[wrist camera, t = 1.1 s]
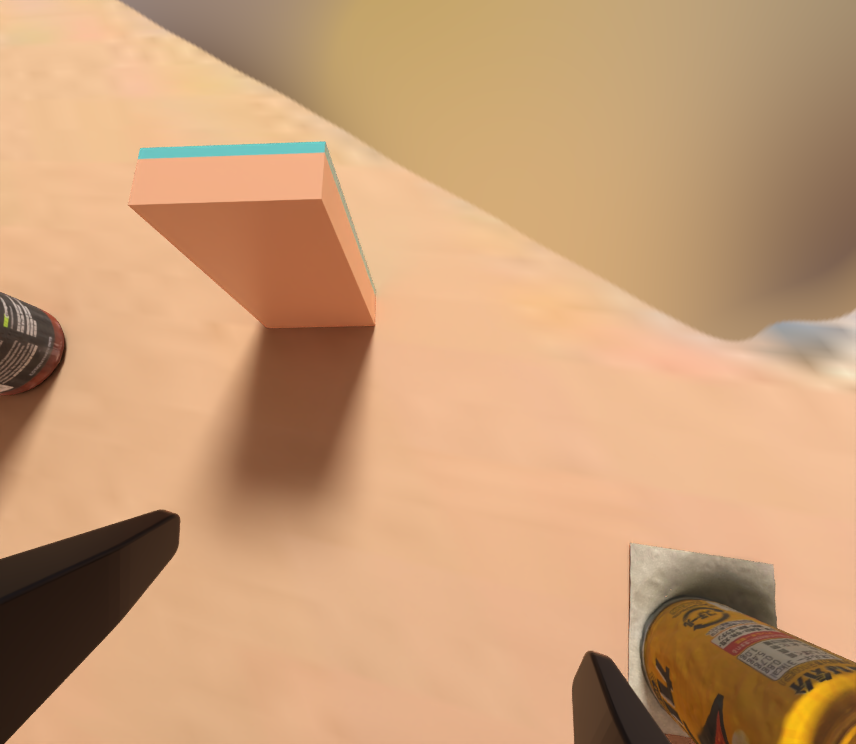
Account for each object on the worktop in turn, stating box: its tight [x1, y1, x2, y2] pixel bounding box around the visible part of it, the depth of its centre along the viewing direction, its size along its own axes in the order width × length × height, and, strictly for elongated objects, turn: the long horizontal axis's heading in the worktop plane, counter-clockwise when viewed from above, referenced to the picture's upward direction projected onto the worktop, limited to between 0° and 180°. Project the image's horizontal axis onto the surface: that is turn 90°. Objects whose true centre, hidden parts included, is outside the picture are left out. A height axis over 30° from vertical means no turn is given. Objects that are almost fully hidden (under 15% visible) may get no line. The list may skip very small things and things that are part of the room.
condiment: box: [628, 543, 856, 744], centre depth 15 cm, size 7×8×12 cm
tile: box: [128, 142, 376, 328], centre depth 20 cm, size 2×7×12 cm, turn 91°
